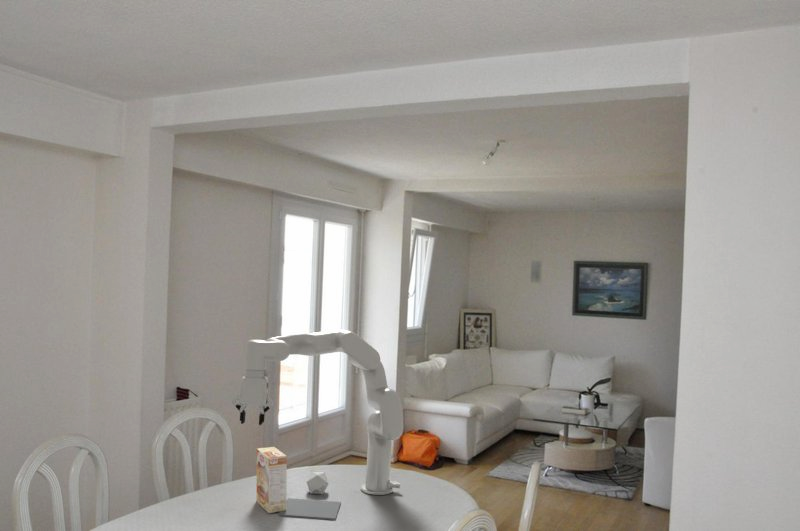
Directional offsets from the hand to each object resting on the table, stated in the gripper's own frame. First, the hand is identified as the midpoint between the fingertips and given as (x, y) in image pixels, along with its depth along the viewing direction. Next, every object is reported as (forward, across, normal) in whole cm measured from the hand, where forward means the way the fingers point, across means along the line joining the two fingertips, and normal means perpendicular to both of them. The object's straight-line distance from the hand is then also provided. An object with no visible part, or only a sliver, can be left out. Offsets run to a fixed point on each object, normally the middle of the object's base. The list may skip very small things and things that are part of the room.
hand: (251, 423), depth 256 cm
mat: (+30, -24, 0) cm, 38 cm away
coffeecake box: (+29, -9, 0) cm, 31 cm away
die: (+30, -23, -20) cm, 43 cm away
